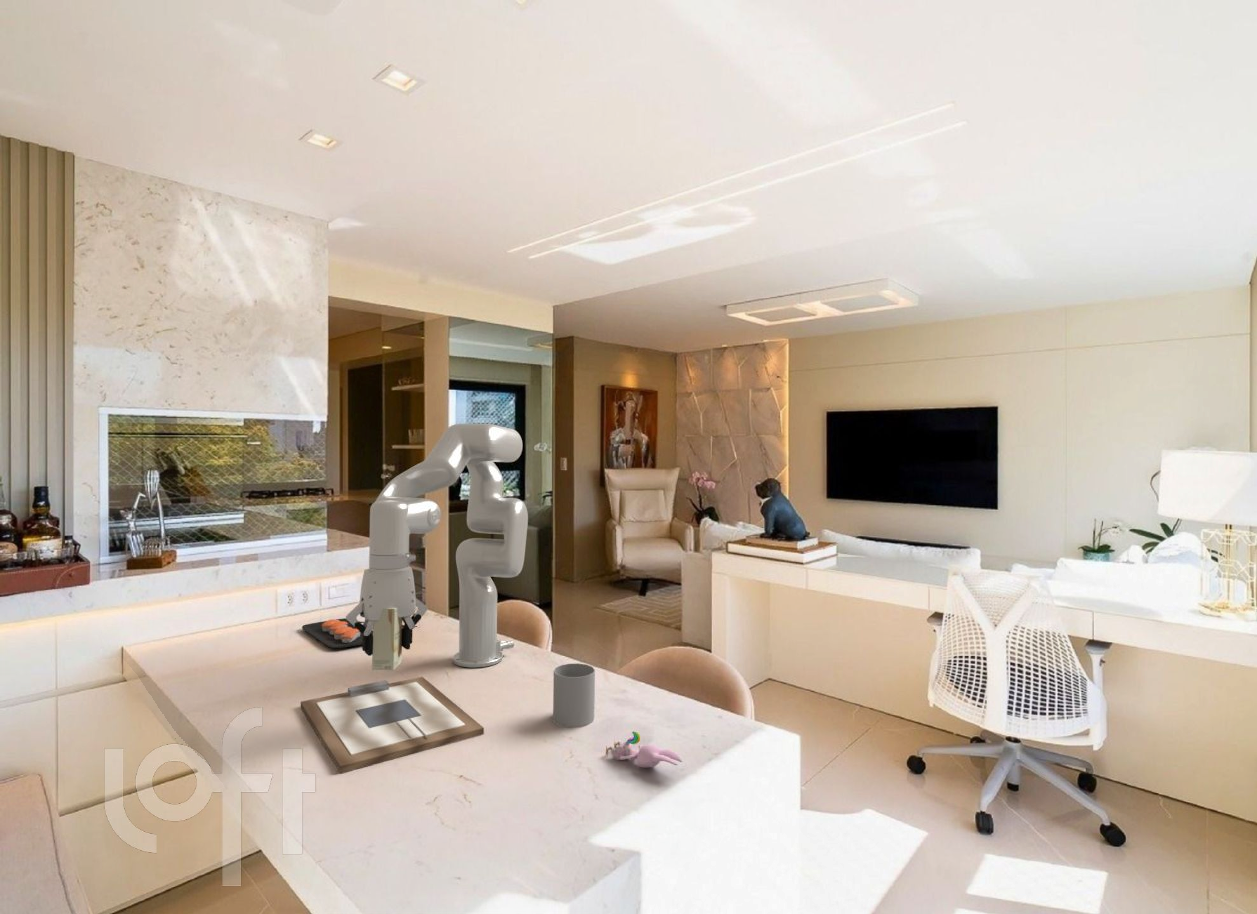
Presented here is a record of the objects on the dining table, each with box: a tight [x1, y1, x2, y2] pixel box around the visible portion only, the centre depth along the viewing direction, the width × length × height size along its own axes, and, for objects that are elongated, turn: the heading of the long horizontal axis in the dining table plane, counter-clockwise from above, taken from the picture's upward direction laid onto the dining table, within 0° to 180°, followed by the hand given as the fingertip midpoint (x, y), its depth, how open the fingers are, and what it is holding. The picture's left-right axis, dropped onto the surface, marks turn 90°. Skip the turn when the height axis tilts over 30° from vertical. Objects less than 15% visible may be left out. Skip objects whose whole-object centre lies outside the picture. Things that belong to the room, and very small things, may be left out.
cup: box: [552, 663, 596, 728], centre depth 133 cm, size 8×8×10 cm
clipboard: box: [300, 676, 485, 774], centre depth 131 cm, size 26×34×3 cm
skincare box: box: [371, 608, 403, 671], centre depth 130 cm, size 6×4×12 cm
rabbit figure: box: [605, 730, 683, 769], centre depth 114 cm, size 6×6×15 cm
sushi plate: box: [301, 617, 417, 649], centre depth 193 cm, size 29×30×4 cm
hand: (387, 650), depth 130 cm, fingers closed on skincare box, 6 cm apart
